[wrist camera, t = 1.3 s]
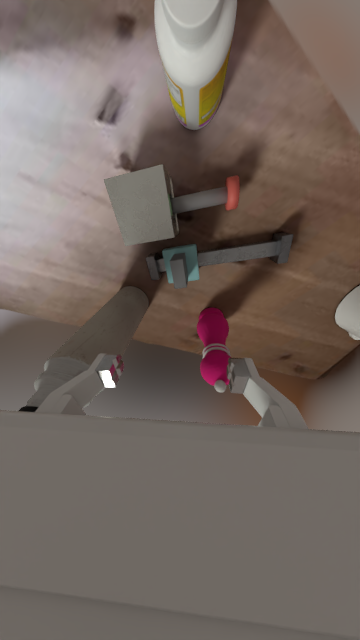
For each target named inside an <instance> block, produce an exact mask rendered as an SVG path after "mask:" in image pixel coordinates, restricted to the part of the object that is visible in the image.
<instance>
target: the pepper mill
mask: <svg viewBox="0 0 360 640" xmlns="http://www.w3.org/2000/svg"><path fill="white" fill-rule="evenodd" d="M197 332H198V335H199V337H200V339H201V340H202V341H203V343H204V346H205V348H204V350H203V360H202V361H201V364H200V370H201V374H202V376H203V378H204V379H205V381H207V382H208V383H209V384H211V385H214V387H215V389H216V390H217V391H218V392H224V391H225V390H226V385H228V384H229V381H230V380H229V379H228V378H227V365H228V364H229V363H228V360H229V358H231V357H230V352H229V349H228V348H227V347H226V345H225V341H226V338H227V336H228V332H229V326H228V322H227V320H226V319H225V318H224V315H223V313H222V312H221V311H220V310H219V309H217V308H212V307H211V308H207V309H204V310H203V311H202V312H201V313H200V315H199V322H198V324H197Z"/></svg>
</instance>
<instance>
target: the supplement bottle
mask: <svg viewBox="0 0 360 640" xmlns="http://www.w3.org/2000/svg"><path fill="white" fill-rule="evenodd" d="M236 10H237V0H155V31H156V39H157V44H158V49H159V53H160V57H161V61H162V65H163V69H164V73H165V78H166V82H167V86H168V90H169V95H170V99H171V103H172V106H173V110H174V112H175V115H176V117H177V119H178V120H179V121H180V123H181V124H182V125H183V126H184V127H186V128H188V129H191V130H198V129H201V128H203V127H204V126H206V125H207V124H208V123H209V122H210V121H211V119H212V118H213V117H214V115H215V113H216V111H217V109H218V106H219V103H220V100H221V96H222V91H223V86H224V81H225V76H226V70H227V65H228V59H229V54H230V48H231V43H232V38H233V32H234V26H235V19H236Z"/></svg>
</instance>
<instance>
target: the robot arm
mask: <svg viewBox="0 0 360 640" xmlns="http://www.w3.org/2000/svg"><path fill="white" fill-rule="evenodd" d="M335 320H336V323H337V324H338V325H339V326H340V327H341V328H343V329H345V330H347V331H348V333H349V335H350V336H351V337H352V338H353V339H355V340H360V285H359V286H358V287H356V288H355V289H354V290H352V291H351V292H350V293H349V294H348V295H347V296H346V297H345V298H344V299H343V300H342V301H341V303H340V304H339V306H338V308H337V310H336V314H335ZM228 363H229V364H228V365H227V378H228V379H229V380H230V381H229V387H230V391H231V393H242V394H243V395H244V396H245V397H246V398H247V399H248V401H249V402H250V403H251V404H252V405H253V407H254V408H255V409H256V410H257V411H258V413H259V414H260V415H261V416H262V420H261V421H260V423H259V425H258V426H248V425H231V424H214V423H198V422H183V421H167V420H150V419H135V418H119V417H103V416H102V417H101V416H87V415H86V414H85V412H84V411H83V410H82V408H83V407H84V406H85V405H86V404H87V403H89V402H90V401H91V400H92V399H93V398H94V397H95V396H96V395H97V394H98V393H99V392H100V391H101V390H102V389H104V388H105V387H116V385H117V383H118V381H119V376H120V375H121V374H122V372H123V369H124V364H123V361H122V360H121V355H120V354H105V353H100V354H99V355H98V356H97V357H96V359H95V360H94V362H93V363H92V364H91V366H90V367H89V369H88V370H87V371H84V372H82V373H81V374H79V375H78V376H76V377H74V378H73V379H71V380H70V381H68V382H67V383H65V384H64V385H62V386H60V387H59V388H57V389H56V390H54V391H53V392H51V393H50V394H49V395H48V396H47V398H46V399H45V400H44V401H43V403H42V404H41V405H40V406H39V407H38V409H37V410H36V411H35V412H23V411H6V410H0V640H360V433H359V432H345V431H344V432H343V431H328V430H312V429H308V427H307V425H306V423H305V422H304V420H303V418H302V416H301V414H300V412H299V411H298V409H297V407H296V406H295V405H294V404H293V403H291V402H290V401H289V400H288V399H287V398H286V397H284V396H283V395H282V394H281V393H280V392H279V391H277V390H276V389H275V388H274V387H273V386H271V385H270V384H269V383H268V382H267V381H265V380H264V379H263V378H260V377H259V374H258V372H257V370H256V367H255V365H254V363H253V360H252V359H251V358H229V360H228Z"/></svg>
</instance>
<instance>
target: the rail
mask: <svg viewBox="0 0 360 640" xmlns="http://www.w3.org/2000/svg"><path fill="white" fill-rule="evenodd" d="M292 238H293V234H289V233H284V232H282V233H276V234H273V239H272V240H269V241H263V242H256V243H250V244H243V245H237V246H231V247H224V248H218V249H211V250H205V251H199V252H197V260H198V266H206V265H213V264H220V263H227V262H234V261H241V260H249V259H256V258H263V257H270V260H272V261H274V262H275V263H277V264H279V263H286V262H287V261H288V256H289V252H290V247H291V243H292ZM146 261H147V265H148V269H149V272H150V276H151V280H157V279H160V277H161V275H162V272H163V271H166V268H165V263H164V258H163V257H160V258H159V256H158V253H152V254H150V255H148V256H147V257H146Z"/></svg>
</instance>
